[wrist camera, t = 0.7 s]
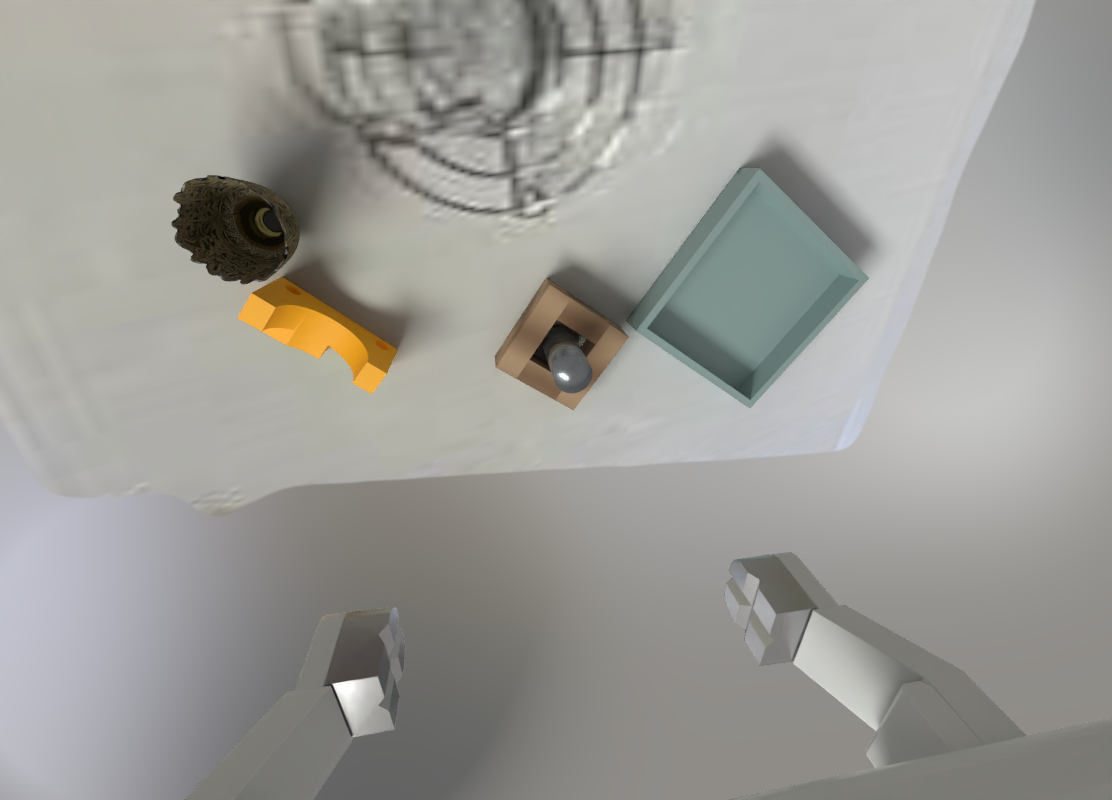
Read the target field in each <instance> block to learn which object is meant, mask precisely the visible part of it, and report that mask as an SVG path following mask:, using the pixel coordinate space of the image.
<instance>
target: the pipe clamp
mask: <svg viewBox="0 0 1112 800" xmlns="http://www.w3.org/2000/svg"><path fill="white" fill-rule="evenodd" d="M238 319H240V320H242V321H244V322H246V323H247V324H249V325H251V326H253V327H254V328H256V329H258V330H260V331H261V332H264V333H265V334H267V335H269V336H271V337H272V338H274V339H276V340H278V341H280V342H281V343H283V344H285V345H288V346H291V347H295V348H297V349H300V350H302V351H305V352H307V353H309V354H311V355H313V356H314V357H316V358H318V359H319V358H320V357H321V356H322V355H323V353H324V352H325V351H326V350H327V348H328V347H331V348H332V349H334V350H335V351H336V352H337V353H338V354H340V355H341V356H342V357H343V358H344V359H345V360H346V362H347V363H348V364H349V366H350V367H351V369H352V372H353V375H354V380H353V384H355V385H357V386H358V387H360V388H362V389H364V390H365V391H367V392H369V393H371V394H372V393H373V392H374V391H375V389H376V388H377V386H378V385H379V384H380V382H381V381H382V379H383V378H384V377H385V375H386V374H387V372H388V370H389V368H390V365H391V363H392V361H393V359H394V357H395V354H396V352H397V350H398V349H397V348H395V347H393V346H392V345H390V344H389V343H387V342H385V341H384V340H382V339H381V338H379V337H378V336H376V335H374V334H373V333H371V332H370V331H368V330H366V329H365V328H363V327H362V326H360V325H358V324H357V323H355V322H354V321H352V320H350V319H349V318H347V317H346V316H344V315H342V314H341V313H339V312H338V311H336V310H334V309H333V308H331V307H330V306H328V305H327V304H325V303H323V302H322V301H320V300H319V299H317V298H315V297H314V296H312V295H311V294H309V293H307V292H306V291H304V290H303V289H301V288H299V287H298V286H296V285H295V284H293V283H291V282H290V281H288V280H287V279H285V278H283V277H281V278H279V279H277V280H275V281H273V282H271V283H270V284H268V285H266V286H264V287H262V288H260V289H258V290H257V291H255V292H253V293H251V295H250V297H249V299H248V300H247V302H246V304H245V306H244V307H243V309H242V311H241V313H240V314H239V316H238Z"/></svg>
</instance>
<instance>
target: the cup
mask: <svg viewBox="0 0 1112 800" xmlns="http://www.w3.org/2000/svg"><path fill="white" fill-rule="evenodd" d="M173 200H174V201H176V202H177V203H179V204H180V207H179V209H178V210H177V211H178V214H179V215H178V216H179V217H178V218H177V219H176V220H174V221H172V226H173V227H174V228H176V229H178V230H177V233H176V236H175V241H176V242H177V244H178V245H179V246H181V247H182V248H184V249H187V250H189V251H190V252H191V253H193V255H192V256H191V261H193V262H195V263H198V264H200V263H204V264H207V265H206V268H207V270H208V273H209V274H211V275H218V276H220V277H221V278H222V280H224V281H237V280H241V282H240V283H241V284H248V283H250V282H252V281H258V282H262V281H265V280H267V279H268V278H270V277H271V276H272V275H273V274H275V273H276V272H277V271H278V270H279V269H280V268H281V267H282V266H283V265H284V264H285V263H286V262H287V261H288V260H289V259H290V258H291V257H292V255H293V254H294V252H295V250H296V249H297V246H298V242H299V236H300V234H299V226H298V222H297V219H296V217H295V215H294V213H293V211H292V210H291V208H290V207H289V205H288V204H287V203H286V202H285V201H284V200H283V199H282V198H281V197H280V196H278V195H277V194H275V193H274V192H272V191H271V190H269V189H267V188H265V187H263V186H261V185H258V184H255V183H252V182H248V181H243V180H239V179H234V178H229V177H221V176H215V175H208V176H207V177H206V178H196V179H193V180H189V181H187V182H185V183H184V184H183V187H182V189H181V192H178V193H176V194H175V195H174V197H173ZM267 212H274V213H275V215H276V216H277V218H278V219H279V221H280V223H281V226H282V230H280V231H272V230H270V229H268V228H267V227H266V225H265V224H264V221H263V217H264V215H265V214H266V213H267Z"/></svg>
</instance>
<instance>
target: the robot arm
mask: <svg viewBox="0 0 1112 800" xmlns="http://www.w3.org/2000/svg"><path fill="white" fill-rule="evenodd" d="M729 571H730V573H731V575H732V576H733V577H732V578H731V579H730V580H729V581H728V582H727V583H726V587H725V593H724V594H725V600H726V605H727V608H728V611H729V613H730V615H731V617H732V619H733V621H734V622H735V623H736V624H737V625H738V626H740V627H741V628H743V629H744V630H745V639H744V640H745V642H746V643H747V645H748V647H749V649H750V650H751V652H752V654H753V655H754V657H755V659H756V661H757V662H758V664H759V666H764V665H771V664H777V663H785V662H792V661H794V664H795V665H796V666H797V667H798V668H800V669H801V670H802V671H803V672H804V673H806V674H807V675H808V676H809V677H811V678H812V679H813V680H814V681H816V682H817V683H818V684H819V685H820V686H822V687H823V688H824V689H825V690H826V691H828V692H829V693H830V694H831V695H833V696H834V697H835V698H836V699H837V700H839V701H840V702H841V703H842V704H844V705H845V706H846V707H847V708H848V709H850V710H851V711H852V712H853V713H855V714H856V715H857V716H858V717H859V718H861V719H862V720H863V721H864V722H866V723H867V724H868V725H869V726H870V727H872V728H873V729H874V730H875V731H876V732H875V734H874V736H873V737H872V739H871V741H870V743H869V744H868V746H867V751H866V755H867V756H868V758H869V759H870V761H871V762H872V764H873V765H874V767H875V768H872V769H868V770H863V771H859V772H854V773H849V774H844V775H840V776H836V777H831V778H826V779H821V780H817V781H812V782H808V783H803V784H798V785H793V786H788V787H783V788H779V789H774V790H769V791H765V792H760V793H756V794H751V795H746V796H741V797H737V798H732V799H727V800H1112V718H1107V719H1102V720H1098V721H1093V722H1088V723H1083V724H1079V725H1074V726H1069V727H1065V728H1060V729H1056V730H1051V731H1046V732H1042V733H1037V734H1032V735H1026V734H1024V732H1023V731H1022V730H1021V729H1020V728H1019V727H1018V726H1017V725H1016V724H1015V723H1014V722H1013V721H1012V720H1011V719H1010V718H1009V717H1008V716H1007V715H1006V714H1005V713H1004V712H1003V711H1002V710H1001V709H1000V708H999V707H998V706H997V705H996V704H995V703H994V702H993V701H992V700H991V699H990V698H989V697H988V696H987V695H986V694H985V693H984V692H983V691H982V690H981V689H980V688H979V687H978V686H977V685H976V683H975V682H974V681H973V680H972V679H971V678H970V677H969V676H968V675H967V674H966V673H965V672H964V671H962V670H960V669H959V668H957V667H955V666H953V665H952V664H950V663H948V662H946V661H944V660H943V659H941V658H939V657H937V656H935V655H933V654H932V653H930V652H928V651H926V650H925V649H923V648H921V647H919V646H917V645H916V644H914V643H912V642H910V641H909V640H907V639H905V638H903V637H901V636H900V635H898V634H896V633H894V632H892V631H891V630H889V629H887V628H885V627H883V626H882V625H880V624H878V623H876V622H875V621H873V620H871V619H869V618H867V617H866V616H864V615H862V614H860V613H858V612H857V611H855V610H853V609H851V608H849V607H848V606H846V605H840V606H839V605H838V604H837V602H836V601H835V600H834V599H833V598H832V597H831V595H830V594H829V593H828V592H827V591H826V590H825V588H824V587H823V586H822V585H821V584H820V583H819V581H818V580H817V579H816V578H815V577H814V575H813V574H812V573H811V572H810V571H809V570H808V568H807V567H806V566H805V565H804V564H803V562H802V561H801V560H800V559H799V558H798V557H797V556H796V555H795V554H793V553H792V552H787V553H780V554H772V555H762V556H756V557H749V558H743V559H736V560H734V561H733V562H732V563H731V565H730V569H729ZM398 620H399V615H398V612H397V609H396V607H390V608H381V609H372V610H363V611H354V612H346V613H339V614H331V615H324V616H323V618H322V619H321V621H320V622H319V624H318V627H317V629H316V632H315V635H314V637H313V640H312V643H311V646H310V649H309V652H308V654H307V657H306V660H305V662H304V665H303V668H302V671H301V673H300V676H299V679H298V682H297V685H296V687H295V690H294V691H291V692H286V694H285V695H284V696H283V697H282V698H281V699H280V700H279V701H278V702H277V703H276V704H275V705H274V706H273V707H272V708H271V709H270V710H269V711H268V712H267V713H266V715H264V717H263V718H262V719H261V720H260V721H259V722H258V723H257V724H256V725H255V726H254V727H253V728H252V729H251V730H250V731H249V732H248V733H247V735H246V736H244V737H243V739H242V740H241V741H240V742H239V743H238V744H237V745H236V746H235V747H234V748H233V749H232V750H231V751H230V752H229V753H228V755H226V756H225V757H224V759H222V761H221V762H220V763H219V764H218V765H217V766H216V767H215V768H214V769H213V770H212V771H211V772H210V773H209V774H208V775H207V776H206V777H205V779H204V780H202V781H201V783H200V784H199V785H198V786H197V787H196V788H195V789H194V790H193V791H192V792H191V793H190V794H189V795H188V796H187V797H186V798H185V799H184V800H313V799H314V798H315V796H316V795H317V793H318V792H319V790H320V789H321V787H322V786H323V784H324V783H325V781H326V780H327V778H328V776H329V775H330V774H331V772H332V771H333V769H334V767H335V766H336V765H337V763H338V762H339V760H340V758H341V757H342V755H343V754H344V752H345V751H346V749H347V748H348V746H349V745H350V743H351V742H352V737H357V736H362V735H367V734H372V733H377V732H382V731H387V730H392V729H394V728H395V721H396V716H397V709H398V702H399V692H398V689H397V685H396V683H397V682H398V680H399V679H400V678H401V677H402V675H403V670H404V662H405V642H404V635H403V631H402V629H400V628H398V627H397V625H398Z"/></svg>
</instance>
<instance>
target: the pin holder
mask: <svg viewBox="0 0 1112 800" xmlns="http://www.w3.org/2000/svg"><path fill="white" fill-rule="evenodd" d="M556 320H558V321H560V322H561V323H563V324H564V325H566V326H567V327H569V328H571V329H572V330H574V331H575V332H577V333H578V334H580V335H582V336H583V337H585V338H586V341H585V342H584V344H583V345H582V346H581V350H582V352H583V353H584V355H585V357H586V359H587V360H588V362H589V364H590V366H591V368H592V371H593V376H592V380H591V382H590V384H589V385H588V386H587V387H586V388H585V389H584V390H582V391H580V392H578V393H566V392H563V391H562V390H560V389H559V388H558V387H557V385H556V384H555V381H554V378H553V375H552V373H551V370H550V367H549V364H548V362H547V361H546V360H544V359H542V358H541V357H539V356H537V355H536V354H534V352H535V351H536V349H537V348H538V346H539V345H540V343H541V342H542V341H543V339H544V338H545V336H546V335H547V333H548V332H549V330H550V329H551V327H552V326H553V324H554V323H555V322H556ZM627 339H628V336H627V335H626V333H625V332H624V331H623V330H622V329H621V328H620V327H618V326H617V325H615V324H614V323H612V322H611V321H609V320H608V319H606V318H605V317H603V316H602V315H600V314H599V313H598V312H596V311H595V310H593V309H592V308H590V307H589V306H587V305H586V304H584V303H583V302H581V301H580V300H578V299H577V298H575V297H574V296H572V295H571V294H569V293H568V292H566V291H565V290H563V289H562V288H560V287H559V286H557V285H556V284H554V283H553V282H551V281H550V280H548V279H547V278H546V279H545V281H544V282H543V284H542V285H541V287H540V288H539V290H538V291H537V293H536V294H535V296H534V297H533V299H532V300H531V302H530V304H529V305H528V307H527V308H526V310H525V311H524V313H523V314H522V316H521V317H520V319H519V320H518V322H517V323H516V325H515V326H514V328H513V330H512V331H511V333H510V334H509V336H508V337H507V339H506V340H505V342H504V343H503V345H502V346H501V348H500V349H499V351H498V352H497V354H496V356H495V364H496V368H498V369H500V370H501V371H503V372H505V373H507V374H509V375H511V376H512V377H514V378H516V379H518V380H520V381H521V382H523V383H525V384H527V385H529V386H530V387H532V388H534V389H536V390H538V391H540V392H541V393H543V394H545V395H547V396H549V397H550V398H552V399H554V400H556V401H558V402H559V403H561V404H563V405H565V406H567V407H569V408H570V409H572V410H574V409H575V408H576V406H577V405H578V404H579V402H580V401H581V400H582V398H583V397H584V396H585V394H586V393H587V392H588V390H589V389H590V388H591V386H592V385H593V384H594V382H595V381H596V380H597V378H598V377H599V376H600V374H601V373H602V372H603V371H604V369H605V368H606V367H607V365H608V364H609V363H610V361H611V360H612V359H613V357H614V356H615V355H616V353H617V352H618V351H619V349H620V348H621V347H622V345H623V344H624V343H625V341H626V340H627Z"/></svg>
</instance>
